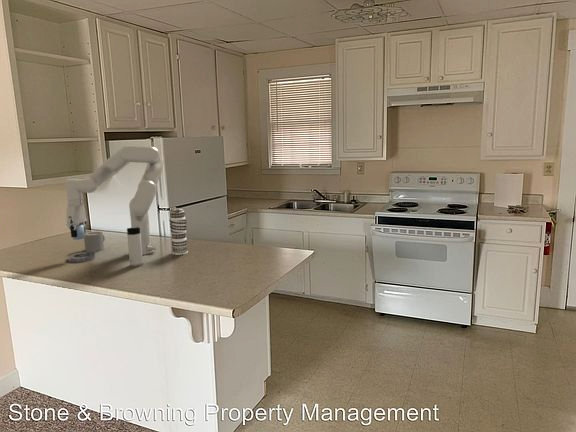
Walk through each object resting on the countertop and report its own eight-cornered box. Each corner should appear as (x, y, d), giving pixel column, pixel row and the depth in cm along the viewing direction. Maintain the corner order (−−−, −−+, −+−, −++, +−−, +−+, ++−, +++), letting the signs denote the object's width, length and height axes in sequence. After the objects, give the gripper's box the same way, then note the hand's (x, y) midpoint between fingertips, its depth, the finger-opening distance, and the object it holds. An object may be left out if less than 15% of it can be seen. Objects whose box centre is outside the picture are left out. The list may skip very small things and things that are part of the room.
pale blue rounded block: (87, 237, 234) (86, 224, 232) (79, 239, 228) (78, 226, 227) (77, 236, 235) (76, 224, 234) (69, 239, 229) (68, 226, 228)
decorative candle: (178, 256, 236) (175, 210, 231) (168, 253, 242) (165, 209, 237) (192, 252, 243) (189, 208, 238) (181, 249, 249) (178, 206, 244)
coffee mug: (93, 253, 245) (92, 235, 243) (81, 251, 249) (79, 234, 247) (112, 247, 257) (111, 230, 255) (100, 245, 261) (99, 229, 259)
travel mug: (129, 267, 217) (126, 228, 213) (130, 264, 223) (127, 226, 219) (142, 266, 218) (139, 227, 215) (143, 262, 225) (140, 225, 221)
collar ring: (100, 256, 239) (99, 252, 238) (84, 262, 226) (84, 259, 226) (79, 255, 241) (79, 251, 241) (63, 261, 229) (62, 258, 228)
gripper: (80, 199, 237) (82, 231, 240) (57, 204, 220) (61, 239, 224) (92, 200, 235) (95, 232, 239) (70, 205, 219) (73, 239, 222)
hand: (78, 235), depth 231 cm, fingers closed on pale blue rounded block, 6 cm apart
